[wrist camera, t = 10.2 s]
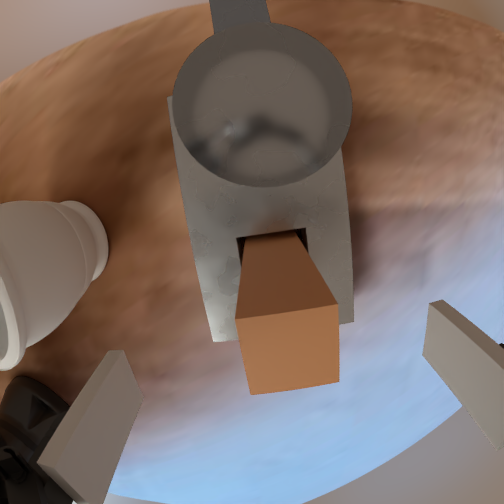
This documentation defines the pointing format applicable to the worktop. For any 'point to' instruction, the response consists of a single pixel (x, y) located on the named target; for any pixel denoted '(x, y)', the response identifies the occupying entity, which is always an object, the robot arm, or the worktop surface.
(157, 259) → the worktop surface
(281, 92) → the plate with square hole
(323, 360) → the orange square bar
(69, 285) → the jar
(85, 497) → the robot arm
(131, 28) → the worktop surface
